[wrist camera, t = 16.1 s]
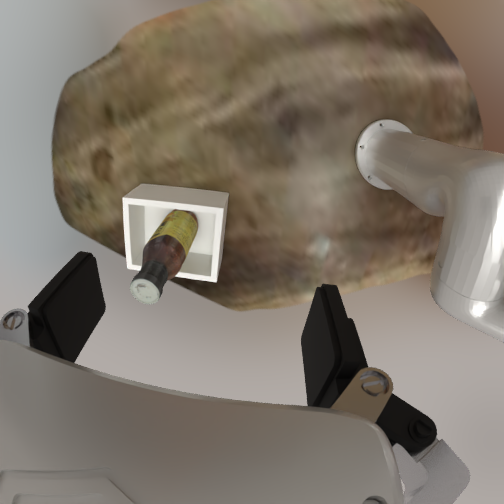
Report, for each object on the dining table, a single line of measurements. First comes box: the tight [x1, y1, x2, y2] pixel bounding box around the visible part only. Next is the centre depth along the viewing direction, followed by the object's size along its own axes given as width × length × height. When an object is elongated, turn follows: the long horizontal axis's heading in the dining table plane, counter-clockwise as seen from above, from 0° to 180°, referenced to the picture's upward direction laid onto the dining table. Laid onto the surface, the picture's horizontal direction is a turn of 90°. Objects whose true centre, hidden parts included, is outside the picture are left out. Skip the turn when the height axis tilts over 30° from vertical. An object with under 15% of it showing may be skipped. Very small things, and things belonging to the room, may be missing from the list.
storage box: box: [123, 184, 229, 282], centre depth 47 cm, size 16×13×8 cm
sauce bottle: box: [130, 209, 198, 304], centre depth 41 cm, size 6×6×20 cm
